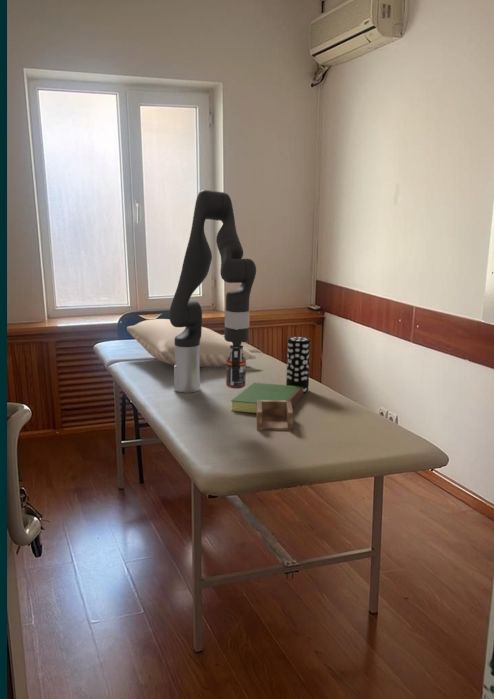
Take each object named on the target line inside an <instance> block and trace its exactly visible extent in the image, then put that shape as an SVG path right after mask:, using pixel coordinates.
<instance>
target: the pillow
mask: <svg viewBox="0 0 494 699" xmlns="http://www.w3.org/2000/svg"><path fill="white" fill-rule="evenodd" d="M185 328H186V327H174V326H173V325H172V324H171V322H170V318H169V319H168V318H155V319H146V320H143V321H140V322H137V323H136V324H134V325H129V326H127V327H126V330H127V332H128V333H129V334H130V335H131V336H132V337H133V338H134V339H135V340H136V342H138V343H139V345H140V346H142V348H143V349H145V351H146V352H147V353H149V355H151V356H152V357H153V358H155V359H157V360H159V361H161V362H163V363H166V364H169V365H172V366H175V337H176V336H177V335H179V334H181V333H182V332H183V331H184V330H185ZM230 345H233V343H232V342H228V341H226V340H225V339H224V335H222V334H220V333H219V332H216V331H214V330H212V329H210V328H208V327H204V326H202V331H201V339H200V368H201V367H202V368H210V367H211V368H213V367H224V366H227V358H228V357H229V356H230ZM243 357H244V358H245V359H246V361H248V360H254V359H256V358H257V356H256V354H253V353H252V352H251V351H249V350H248V349H247V348H245V347H243Z"/></svg>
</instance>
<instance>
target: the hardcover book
mask: <svg viewBox="0 0 494 699" xmlns="http://www.w3.org/2000/svg"><path fill="white" fill-rule="evenodd" d="M303 397H304V394H303V387H302V386H289V385H286V384H275V383H262V382H253V383H252V384H250V385H248V387H247V388H245V389H244V390H243V391H241V392H240V393H239V394H237V395H236V396H235V397H234V398H233V399H231V400H230V401H231V408H232V409H231V412H235V413H236V412H237V413H244V414H245V413H246V414H256V415H257V400H291V404H292V409H293V408H294V407H295V406H296V405H297V404H298V403H299V402H300V401H301V399H302V398H303Z"/></svg>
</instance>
